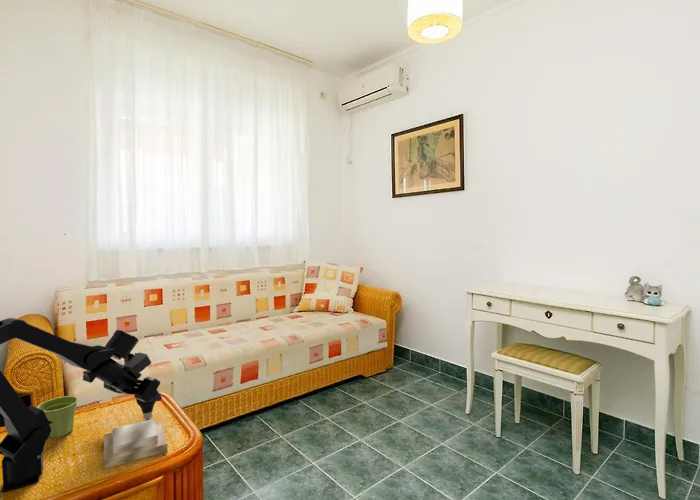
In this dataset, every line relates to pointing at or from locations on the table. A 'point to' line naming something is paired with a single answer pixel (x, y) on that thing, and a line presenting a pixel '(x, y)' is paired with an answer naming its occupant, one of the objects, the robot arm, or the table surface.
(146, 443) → the stepped stand
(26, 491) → the table surface
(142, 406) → the light bulb
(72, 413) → the plant pot
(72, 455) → the table surface
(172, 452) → the table surface
